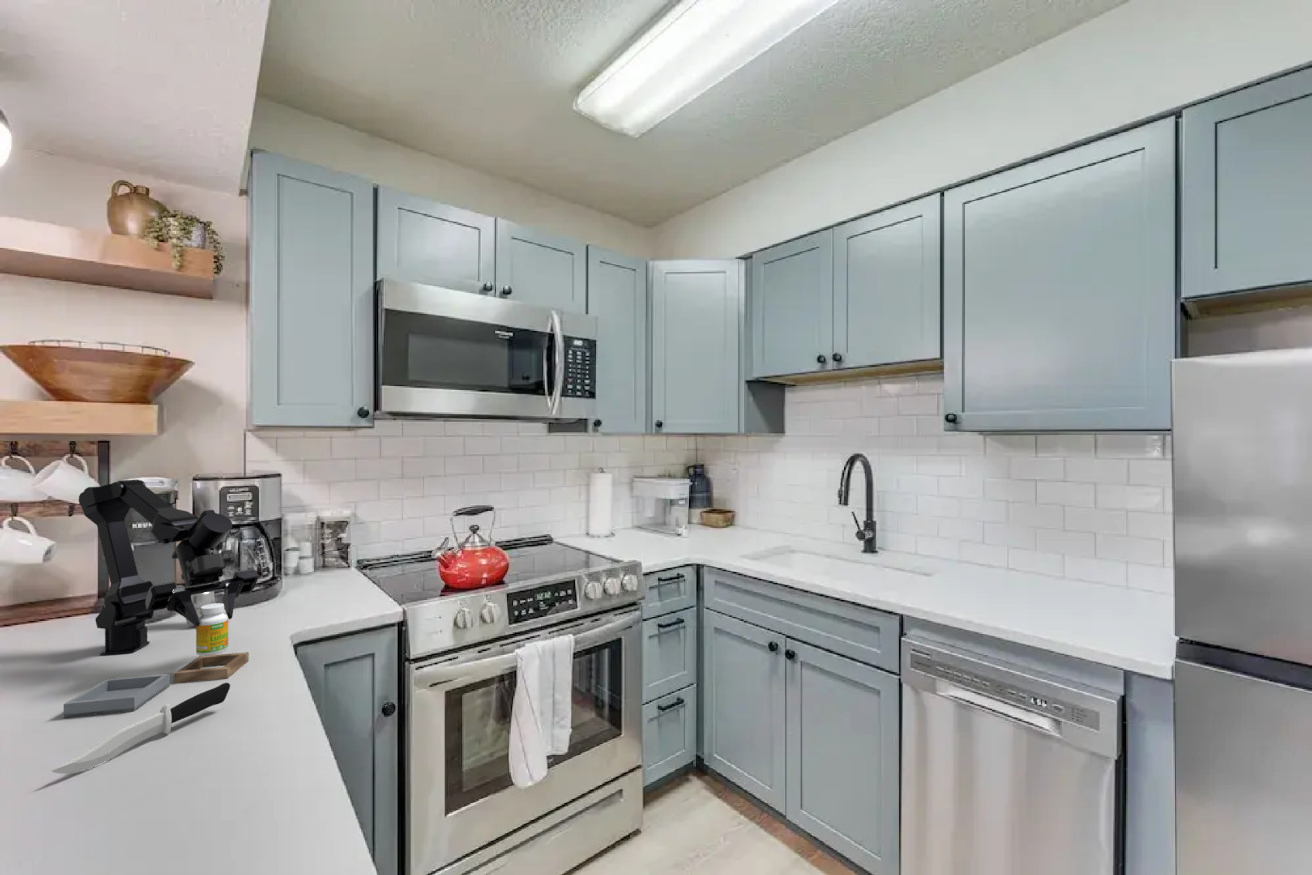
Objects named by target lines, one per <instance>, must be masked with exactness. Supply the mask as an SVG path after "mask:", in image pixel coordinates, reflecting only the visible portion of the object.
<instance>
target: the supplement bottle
mask: <svg viewBox="0 0 1312 875" xmlns="http://www.w3.org/2000/svg"><path fill="white" fill-rule="evenodd" d="M224 612H225V608H224V604H223V602H218V603H217V602H215V604H208V605H204V606H202V607H201V608H200V614H201V615H202V616H201V617H199V623H200V624H199V626H197V627H196V626H195V632H196V633H195V635H196V636H195V638H196V639H195V644H196V645H195V651H196V652H195V653H196V654H197V655H198V656H208V655H219V654H221V653H223V652H225V651H227V650H228V649H229V618H228V615H227V614H226V612H225V613H224Z"/></svg>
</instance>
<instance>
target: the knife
mask: <svg viewBox="0 0 1312 875" xmlns="http://www.w3.org/2000/svg"><path fill="white" fill-rule="evenodd" d="M230 688H231V684H230V683H229V682H223V683H221V684H219V685H217V686H215V687H213V688H211V689H208V690H205V691H203V692H200V693H198V694H196V695H194V696H192V697H190V698H187V699H186V700H184V701H181V703H178V704H177V705H175V706H173V707H171V704H170V703H169V704H168V703H166V704H164V705H163V706H162V707H161V708H160V711H159V712H158V713H155V714H152V715H150V716H148V717H146V718H143V719H141V720H139V721H136V722H134V723H133V724H130V725H128V726H124V727H123V728H121V729H119V730H117V731H115V732H114V733H112V734H111V735H109V736H108V737H106V738H105V739H104V740H102V741H101V742H100V743H98V744H96V745H95V746H94V747H92V748H90V749H89V750H87V751H85V752H83V753H81V754H80V755H78V756H76V757H74V758H72V759H70V760H68V761H67V762H65V763H63V764H61V765H59V766H57V767H55V768H54V769H51V772H52V773H56V774H62V775H67V774H75V773H80V772H81V773H82V772H84V771H83V770H85V771H87V770H86V769H89V768H91V767H93V766H95V765H98V764H100V763H103V762H104V761H107V762H109V761H111V760H112V759H114V758H116V757H117V756H118V755H120V754H122V753H123V752H125V751H126V750H128V749H129V748H132V747H133V746H135V745H137V744H139V743H140V742H142V741H145V740H147V739H149V738H150V737H153V736H155V735H157V734H159V733H163V734H166V735H168V734H171V727H172V724H174V723H176V722H179V721H181V720H184V719H186V718H188V717H191V716H193V715H195V714H197V713H200V712H202V711H204V710H206V709H209V708H210V707H213V706H216V705H219V704H222V703H224V701H225V700H226V697H227V696H228V693H229V690H230ZM110 759H111V760H110ZM108 760H109V761H108ZM89 770H90V769H89Z"/></svg>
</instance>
